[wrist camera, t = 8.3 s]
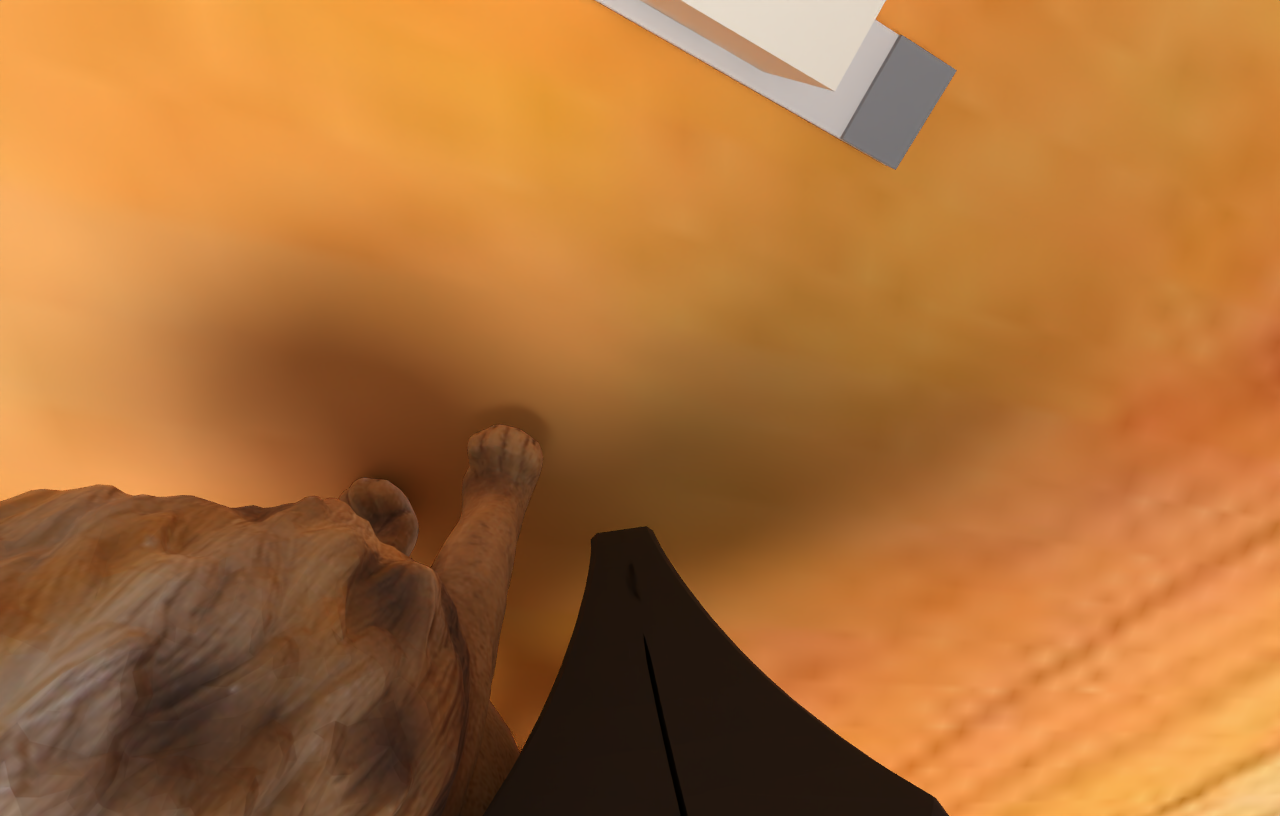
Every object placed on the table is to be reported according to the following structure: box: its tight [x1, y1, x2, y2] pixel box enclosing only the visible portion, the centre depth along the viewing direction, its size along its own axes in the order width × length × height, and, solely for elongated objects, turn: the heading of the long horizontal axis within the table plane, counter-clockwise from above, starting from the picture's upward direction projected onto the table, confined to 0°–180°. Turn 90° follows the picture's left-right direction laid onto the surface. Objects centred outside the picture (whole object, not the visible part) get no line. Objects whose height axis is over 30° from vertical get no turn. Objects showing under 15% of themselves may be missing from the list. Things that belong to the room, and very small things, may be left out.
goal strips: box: [595, 0, 957, 170], centre depth 13 cm, size 9×18×1 cm, turn 153°
